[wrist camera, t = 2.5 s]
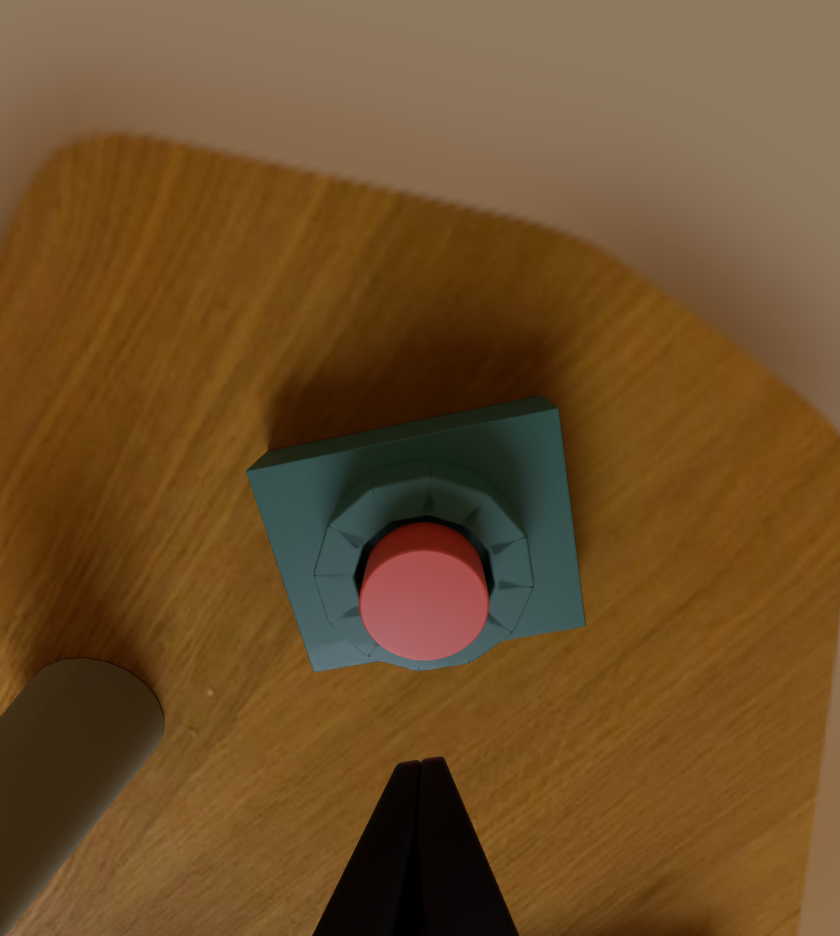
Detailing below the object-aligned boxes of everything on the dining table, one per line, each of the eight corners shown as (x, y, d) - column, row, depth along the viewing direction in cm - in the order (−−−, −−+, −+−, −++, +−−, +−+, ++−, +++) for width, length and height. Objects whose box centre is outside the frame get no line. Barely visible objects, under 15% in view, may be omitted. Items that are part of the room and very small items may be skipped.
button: (471, 510, 15) (477, 537, 13) (491, 614, 16) (499, 650, 14) (353, 533, 15) (344, 561, 13) (381, 633, 16) (375, 670, 14)
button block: (542, 394, 17) (576, 420, 13) (569, 592, 20) (604, 661, 16) (266, 451, 18) (222, 490, 14) (324, 635, 20) (301, 711, 16)
